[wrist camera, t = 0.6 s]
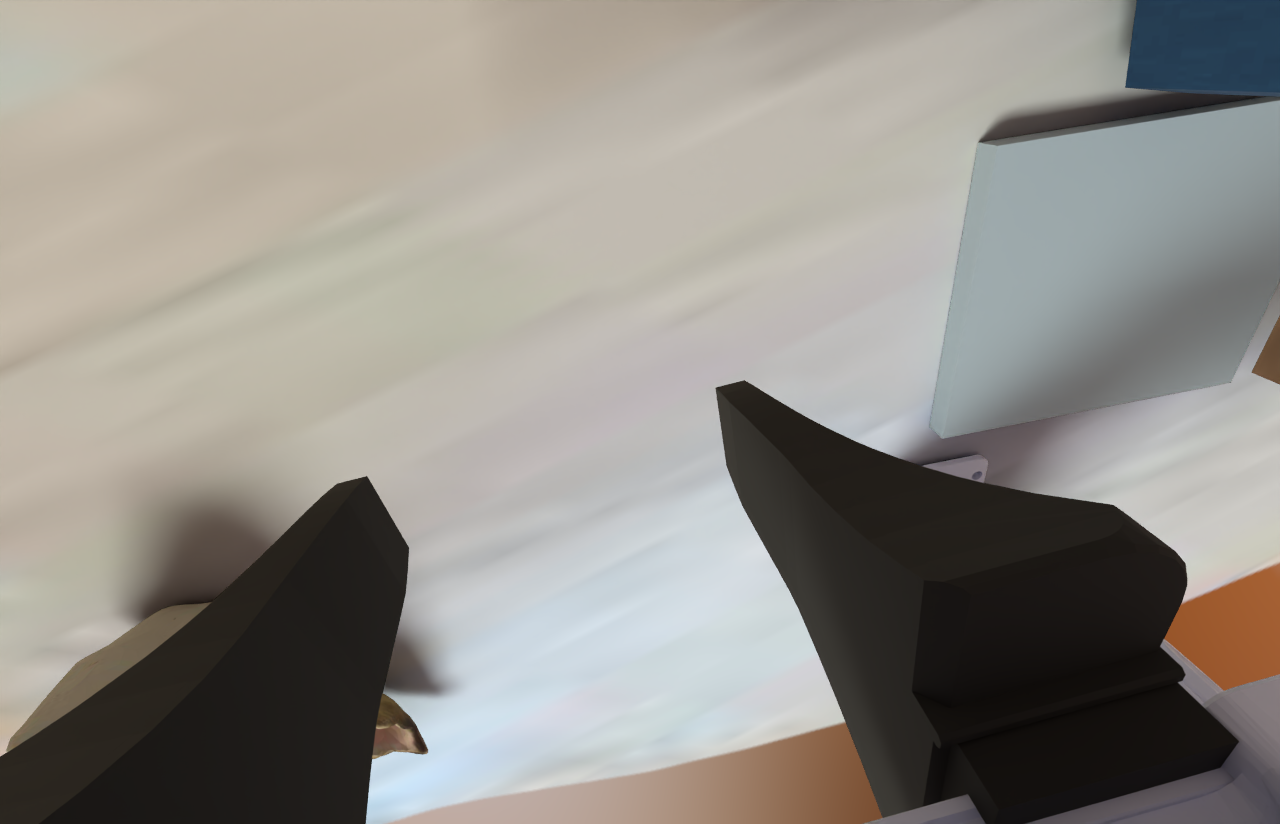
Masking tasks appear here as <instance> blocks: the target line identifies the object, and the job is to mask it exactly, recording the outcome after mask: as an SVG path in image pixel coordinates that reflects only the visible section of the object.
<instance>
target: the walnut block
mask: <svg viewBox="0 0 1280 824" xmlns="http://www.w3.org/2000/svg"><path fill="white" fill-rule="evenodd" d="M1252 373H1254V374H1257V375H1259V376H1261V377H1264V378H1266V379H1268V380H1271V381H1273V382H1275V383H1278V384H1280V316H1279V318H1278V320H1277V322H1276V324H1275V326H1274V328H1273V330H1272V332H1271V334H1270V336H1269V338H1268V340H1267V342H1266V344H1265V346H1264V348H1263V350H1262V352H1261V354H1260V356H1259V358H1258V360H1257V362H1256V364H1255V366H1254V368H1253V370H1252Z"/></svg>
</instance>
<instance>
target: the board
mask: <svg viewBox="0 0 1280 824" xmlns="http://www.w3.org/2000/svg"><path fill="white" fill-rule="evenodd" d="M1279 281H1280V97H1276V96H1265V97H1259V98H1253V99H1247V100H1240V101H1234V102H1228V103H1222V104H1215V105H1209V106H1203V107H1197V108H1191V109H1184V110H1178V111H1172V112H1166V113H1159V114H1153V115H1147V116H1141V117H1135V118H1128V119H1122V120H1116V121H1110V122H1103V123H1097V124H1091V125H1085V126H1079V127H1072V128H1066V129H1060V130H1054V131H1047V132H1041V133H1035V134H1029V135H1023V136H1016V137H1010V138H1004V139H998V140H991V141H985V142H979V143H978V147H977V153H976V159H975V165H974V170H973V176H972V182H971V188H970V194H969V200H968V205H967V211H966V217H965V223H964V229H963V234H962V240H961V246H960V252H959V258H958V264H957V269H956V275H955V281H954V287H953V293H952V298H951V304H950V310H949V316H948V322H947V328H946V333H945V339H944V345H943V351H942V357H941V362H940V368H939V374H938V380H937V386H936V392H935V397H934V403H933V409H932V415H931V421H930V426H929V427H930V428H931V429H932V430H933V431H934V432H935V433H937V434H938V435H939V436H940V437H941V438H942V439H944V438H949V437H955V436H960V435H965V434H970V433H975V432H980V431H985V430H990V429H996V428H1001V427H1006V426H1011V425H1016V424H1021V423H1026V422H1031V421H1037V420H1042V419H1047V418H1052V417H1057V416H1062V415H1067V414H1073V413H1078V412H1083V411H1088V410H1093V409H1098V408H1103V407H1108V406H1114V405H1119V404H1124V403H1129V402H1134V401H1139V400H1144V399H1149V398H1155V397H1160V396H1165V395H1170V394H1175V393H1180V392H1185V391H1191V390H1196V389H1201V388H1206V387H1211V386H1216V385H1221V384H1226V383H1231V381H1232V379H1233V377H1234V375H1235V373H1236V371H1237V368H1238V366H1239V364H1240V362H1241V360H1242V358H1243V356H1244V354H1245V352H1246V350H1247V348H1248V346H1249V343H1250V341H1251V339H1252V337H1253V335H1254V333H1255V331H1256V329H1257V327H1258V325H1259V323H1260V321H1261V318H1262V316H1263V314H1264V312H1265V310H1266V308H1267V306H1268V304H1269V302H1270V300H1271V298H1272V296H1273V293H1274V291H1275V289H1276V287H1277V285H1278V283H1279Z"/></svg>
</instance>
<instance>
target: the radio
mask: <svg viewBox="0 0 1280 824" xmlns="http://www.w3.org/2000/svg"><path fill="white" fill-rule="evenodd" d="M1125 88H1136V89H1148V90H1159V91H1171V92H1182V93H1198V94H1224V95H1250V96H1276V97H1280V0H1137V4H1136V11H1135V19H1134V26H1133V34H1132V41H1131V49H1130V56H1129V64H1128V71H1127V79H1126V86H1125Z"/></svg>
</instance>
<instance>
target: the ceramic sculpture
mask: <svg viewBox="0 0 1280 824" xmlns="http://www.w3.org/2000/svg"><path fill="white" fill-rule="evenodd" d="M210 603H211V602H209V603H202V604H187V605H175V606H170V607H167V608H164V609H162V610H160V611H158V612H156V613H154V614H153V615H151V616H149V617H148V618H147V619H145V620H144V621H142V622H141V623H139V624H138V625H136V626H135V627H134V628H132V629H131V630H129V631H128V632H126V633H125V634H124V635H122V636H121V637H119V638H118V639H117V640H115V641H114V642H112V643H111V644H110V645H108V646H106V647H104V648H102V649H100V650H99V651H97V652H95V653H93V654H91V655H89V656H87V657H85V658H84V659H82V660H80V661H79V662H77V663H76V664H75V665H74V666H73V667H72V669H71V670H70V671H69V672H68V673H67V674H66V675H65V676H64V677H63V679H62V680H61V681H60V682H59V683H58V684H57V685H56V686H55V688H54V689H53V690H52V691H51V692H50V693H49V694H48V696H47V697H46V698H45V699H44V700H43V702H42V703H41V704H40V705H39V706H38V708H37V709H36V710H35V711H34V712H33V714H32V715H31V716H30V717H29V718H28V720H27V721H26V722H25V724H24V725H23V726H22V727H21V728H20V729H19V730H18V731H17V732H16V733H15V734H14V735H13V736H12V737H11V739H10V741H9V744H8V747H7V750H6V751H7V752H8V751H10V750H12V749H13V748H15V747H16V746H18V745H19V744H21V743H23V742H24V741H26V740H27V739H29V738H30V737H32V736H34V735H35V734H37V733H38V732H40V731H41V730H43V729H44V728H46V727H47V726H49V725H50V724H52V723H53V722H55V721H56V720H58V719H59V718H61V717H62V716H64V715H65V714H67V713H68V712H70V711H71V710H73V709H74V708H76V707H77V706H78V705H80V704H81V703H83V702H84V701H85V700H87V699H88V698H90V697H91V696H92V695H94V694H95V693H96V692H98V691H99V690H101V689H102V688H103V687H105V686H106V685H107V684H109V683H110V682H112V681H113V680H114V679H116V678H117V677H119V676H120V675H121V674H123V673H124V672H125V671H127V670H128V669H130V668H131V667H132V666H134V665H135V664H136V663H138V662H139V661H141V660H142V659H143V658H145V657H146V656H147V655H148V654H150V653H151V652H152V651H154V650H155V649H156V648H157V647H159V646H160V645H161V644H162V643H164V642H165V641H166V640H167V639H169V638H170V637H171V636H172V635H173V634H175V633H176V632H177V631H178V630H180V629H181V628H182V627H183V626H185V625H186V624H187V623H188V622H189V621H191V620H192V619H193V618H194V617H195V616H196V615H198V614H199V613H200V612H201V611H202V610H203V609H205V608H206V607H207V606H208V605H209V604H210ZM394 751H395V752H410V753H415V754H427V753H428V749H427V747H426V744H425V742H424V740H423V738H422V736H421V734H420V732H419V730H418V728H417V726H416V724H415V723H414V721H413V720H412V719H411V717H410V716H409V715H408V714H407V713H405V712H404V711H403V710H402V709H401V707H400V706H399V705H398V704H397V703H396V702H395V701H394V700H392V699H391V698H389V697H388V696H386V695H385V694H383V693H382V697H381V702H380V708H379V713H378V718H377V724H376V731H375V740H374V748H373V756H372V759H375V758H378V757H380V756H384V755H387V754H389V753H391V752H394Z"/></svg>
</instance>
